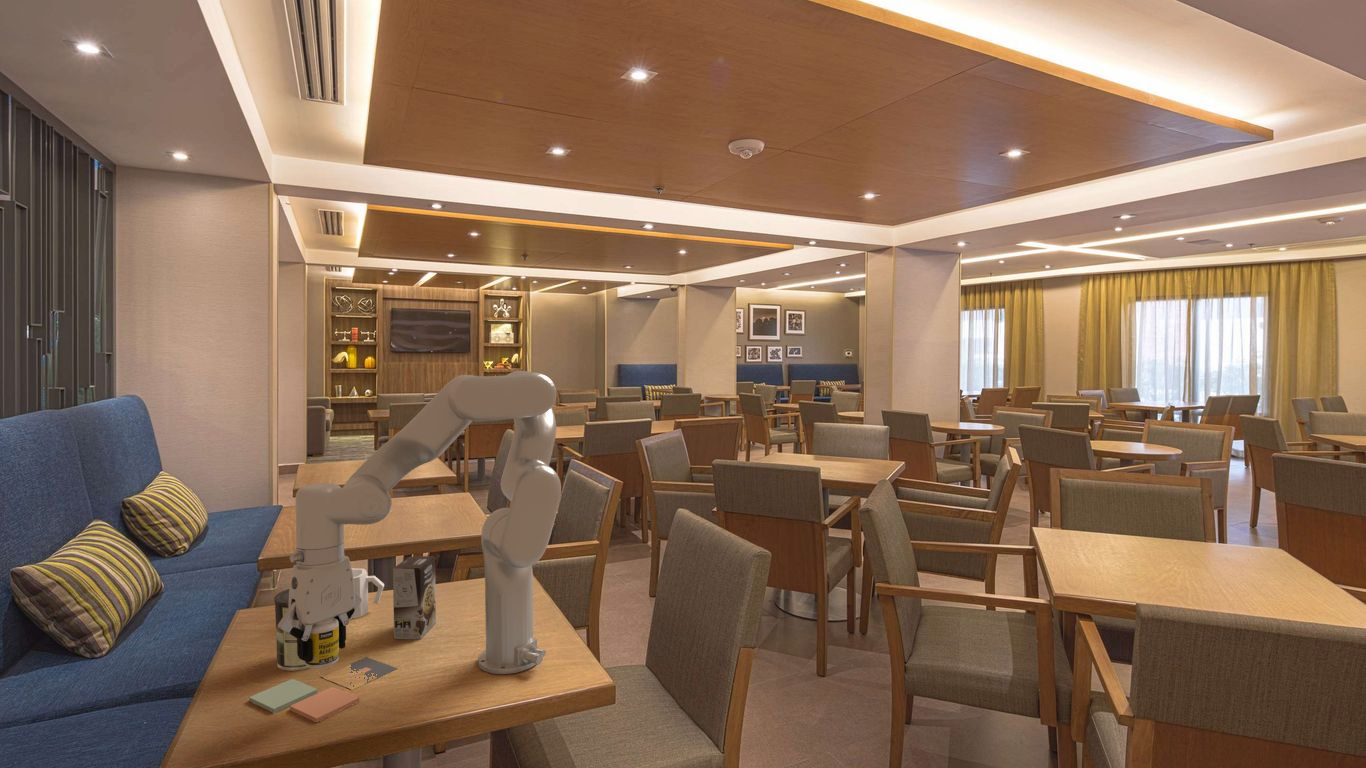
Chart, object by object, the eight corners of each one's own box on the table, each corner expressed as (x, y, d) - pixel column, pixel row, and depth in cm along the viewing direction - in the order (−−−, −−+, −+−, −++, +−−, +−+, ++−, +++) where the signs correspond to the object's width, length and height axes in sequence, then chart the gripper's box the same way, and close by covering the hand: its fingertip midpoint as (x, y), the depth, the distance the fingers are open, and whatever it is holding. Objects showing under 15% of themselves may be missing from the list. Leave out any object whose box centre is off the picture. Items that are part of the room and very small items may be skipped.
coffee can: (264, 667, 138) (261, 598, 138) (306, 645, 148) (304, 581, 147) (304, 674, 135) (301, 604, 134) (344, 652, 145) (342, 587, 144)
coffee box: (421, 639, 151) (420, 568, 150) (393, 639, 151) (391, 568, 151) (437, 623, 160) (436, 555, 159) (410, 622, 161) (408, 555, 160)
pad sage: (317, 693, 128) (317, 689, 128) (274, 713, 121) (273, 708, 121) (292, 682, 132) (292, 678, 132) (249, 701, 125) (249, 697, 125)
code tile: (397, 670, 138) (397, 668, 138) (352, 692, 129) (352, 689, 129) (366, 658, 143) (366, 656, 143) (320, 678, 134) (320, 676, 134)
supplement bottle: (319, 672, 119) (317, 617, 119) (298, 665, 122) (297, 611, 121) (346, 659, 124) (345, 606, 124) (325, 653, 127) (324, 601, 126)
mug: (326, 622, 161) (325, 581, 160) (334, 608, 169) (333, 569, 168) (382, 616, 164) (381, 576, 163) (387, 603, 172) (386, 565, 172)
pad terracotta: (359, 702, 125) (359, 697, 125) (317, 722, 118) (316, 718, 118) (332, 690, 129) (332, 686, 129) (290, 710, 122) (290, 706, 122)
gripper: (284, 570, 113) (286, 678, 114) (376, 545, 127) (378, 640, 128) (259, 563, 116) (261, 667, 117) (351, 539, 131) (353, 631, 132)
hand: (322, 652), depth 123 cm, fingers closed on supplement bottle, 5 cm apart
